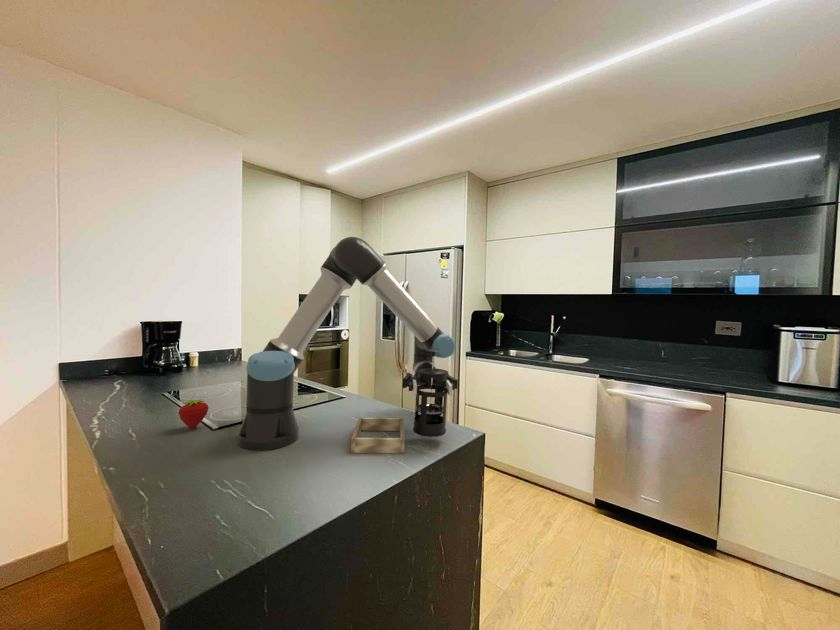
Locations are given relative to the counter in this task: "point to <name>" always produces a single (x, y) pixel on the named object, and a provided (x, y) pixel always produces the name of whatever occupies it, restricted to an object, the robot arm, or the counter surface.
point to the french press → (430, 416)
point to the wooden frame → (378, 443)
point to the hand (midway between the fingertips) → (433, 390)
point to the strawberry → (193, 412)
